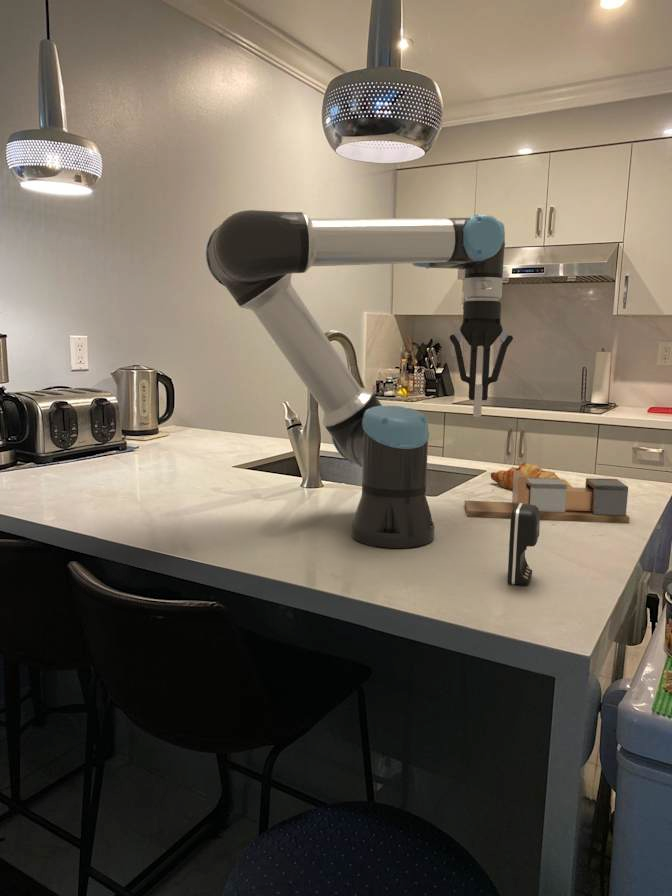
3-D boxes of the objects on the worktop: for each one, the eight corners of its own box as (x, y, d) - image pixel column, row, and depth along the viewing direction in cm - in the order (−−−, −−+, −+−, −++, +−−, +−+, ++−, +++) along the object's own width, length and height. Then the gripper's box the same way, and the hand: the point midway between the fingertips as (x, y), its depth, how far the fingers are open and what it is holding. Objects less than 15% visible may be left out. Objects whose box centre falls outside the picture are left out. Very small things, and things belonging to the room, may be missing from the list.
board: (467, 516, 138) (468, 510, 138) (464, 505, 147) (464, 500, 147) (629, 523, 135) (629, 517, 135) (615, 511, 144) (616, 506, 143)
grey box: (593, 514, 136) (595, 485, 135) (584, 505, 144) (586, 478, 143) (625, 516, 135) (628, 487, 134) (614, 506, 143) (617, 479, 142)
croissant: (576, 509, 160) (584, 477, 161) (564, 496, 152) (573, 463, 154) (493, 493, 173) (502, 464, 174) (479, 481, 165) (487, 451, 167)
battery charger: (533, 588, 99) (537, 513, 97) (506, 585, 100) (510, 510, 98) (537, 573, 105) (542, 502, 103) (512, 570, 107) (516, 500, 105)
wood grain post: (517, 510, 138) (518, 476, 137) (512, 502, 145) (513, 470, 144) (615, 514, 136) (618, 480, 135) (606, 505, 143) (608, 473, 142)
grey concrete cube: (529, 511, 138) (531, 484, 137) (524, 504, 144) (525, 477, 143) (564, 513, 137) (566, 485, 136) (557, 505, 144) (559, 478, 143)
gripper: (450, 299, 134) (445, 417, 138) (517, 299, 132) (511, 419, 136) (449, 301, 141) (445, 413, 145) (513, 301, 139) (507, 414, 143)
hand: (477, 415), depth 141 cm, fingers closed
